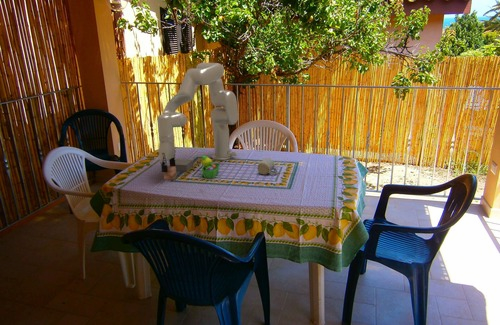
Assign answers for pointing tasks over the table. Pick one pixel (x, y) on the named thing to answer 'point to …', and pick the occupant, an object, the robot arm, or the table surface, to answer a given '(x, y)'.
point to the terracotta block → (170, 173)
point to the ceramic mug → (266, 167)
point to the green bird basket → (209, 167)
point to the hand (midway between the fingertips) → (168, 169)
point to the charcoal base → (183, 164)
